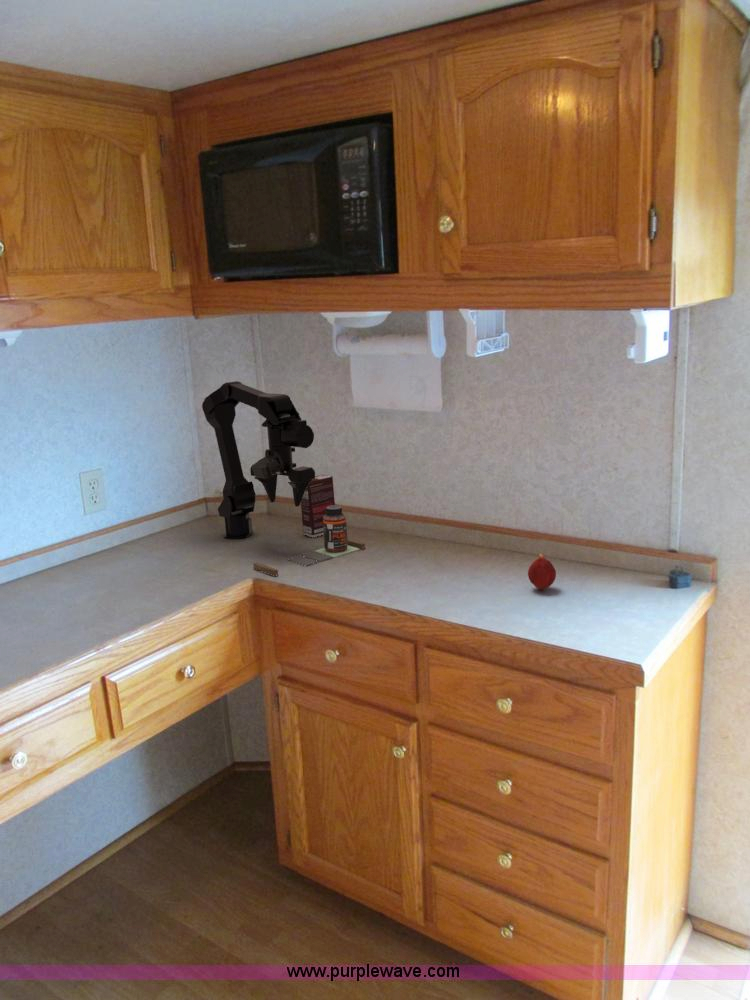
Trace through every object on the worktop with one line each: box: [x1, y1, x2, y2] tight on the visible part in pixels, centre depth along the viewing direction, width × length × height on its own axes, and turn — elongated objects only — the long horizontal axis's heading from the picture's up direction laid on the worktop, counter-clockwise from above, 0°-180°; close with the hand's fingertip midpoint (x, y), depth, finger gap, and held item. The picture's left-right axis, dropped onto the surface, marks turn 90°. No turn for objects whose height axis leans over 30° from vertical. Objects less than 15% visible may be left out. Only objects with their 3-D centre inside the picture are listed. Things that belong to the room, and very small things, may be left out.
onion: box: [527, 553, 557, 591], centre depth 176 cm, size 6×6×8 cm
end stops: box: [252, 538, 366, 576], centre depth 207 cm, size 28×9×2 cm, turn 131°
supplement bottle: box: [323, 504, 348, 552], centre depth 212 cm, size 6×6×11 cm
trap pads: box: [287, 551, 333, 567], centre depth 207 cm, size 8×8×1 cm
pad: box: [314, 545, 361, 559], centre depth 213 cm, size 9×8×1 cm
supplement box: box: [300, 474, 336, 539], centre depth 228 cm, size 9×5×16 cm, turn 129°
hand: (284, 504), depth 214 cm, fingers open, 9 cm apart
